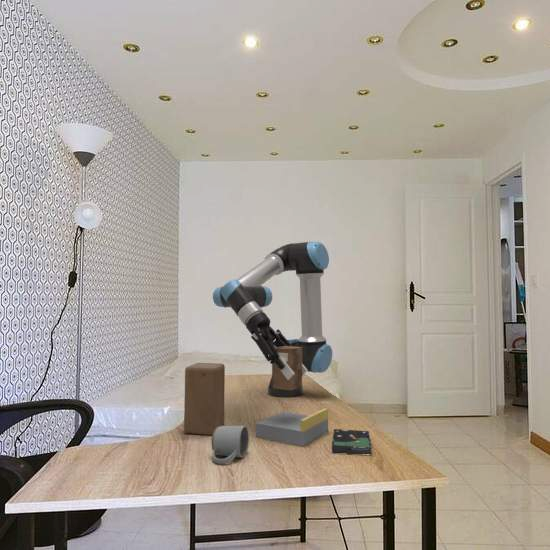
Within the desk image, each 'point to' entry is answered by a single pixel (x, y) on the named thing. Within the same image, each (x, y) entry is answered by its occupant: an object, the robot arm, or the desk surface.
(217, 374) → the wooden block
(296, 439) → the dock
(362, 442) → the disk drive
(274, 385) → the cardboard box
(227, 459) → the ceramic mug
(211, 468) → the desk surface
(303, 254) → the robot arm
